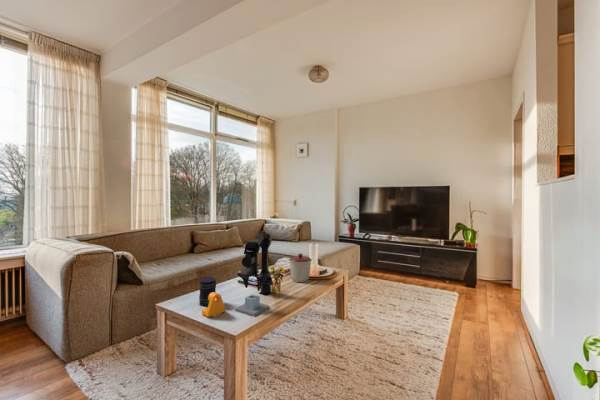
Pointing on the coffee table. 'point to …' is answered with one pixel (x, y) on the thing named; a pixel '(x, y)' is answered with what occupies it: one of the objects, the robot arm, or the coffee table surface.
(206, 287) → the storage jar
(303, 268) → the canister
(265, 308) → the pin plate
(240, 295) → the coffee table surface
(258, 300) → the blue-grey hollow cube
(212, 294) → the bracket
